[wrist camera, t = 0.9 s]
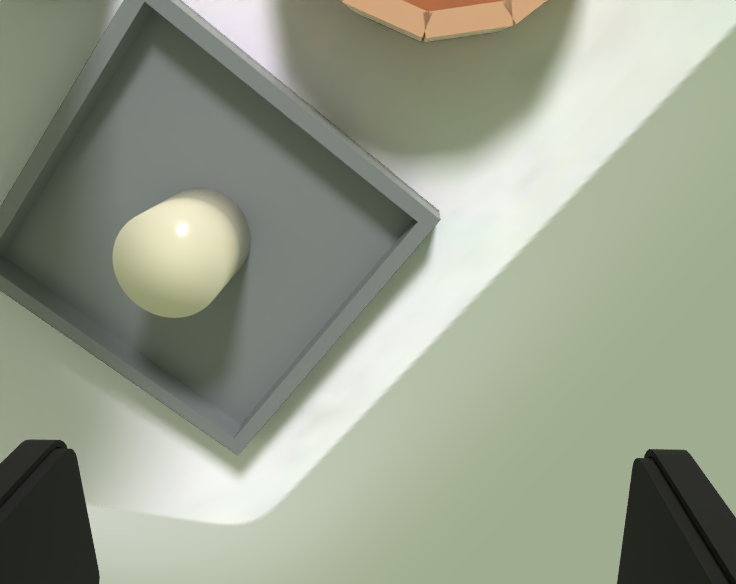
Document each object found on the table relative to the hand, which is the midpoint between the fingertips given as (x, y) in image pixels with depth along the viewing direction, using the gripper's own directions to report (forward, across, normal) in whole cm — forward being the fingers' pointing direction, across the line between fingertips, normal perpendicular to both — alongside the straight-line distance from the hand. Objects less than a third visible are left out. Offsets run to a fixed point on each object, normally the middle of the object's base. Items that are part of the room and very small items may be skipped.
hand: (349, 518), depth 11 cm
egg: (+25, +10, +2) cm, 27 cm away
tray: (+25, +10, +2) cm, 27 cm away
